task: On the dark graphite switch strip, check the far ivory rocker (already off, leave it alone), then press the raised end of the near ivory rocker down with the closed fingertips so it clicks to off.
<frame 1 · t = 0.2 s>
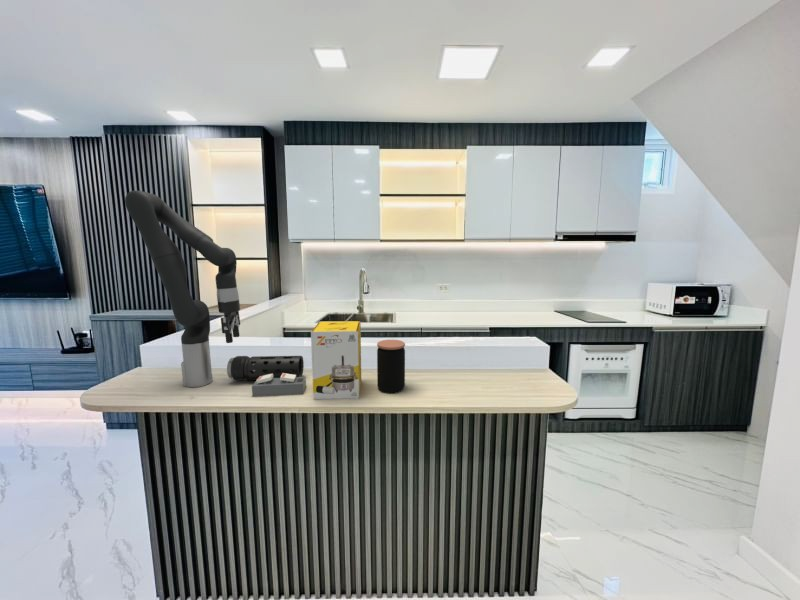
hand: (233, 339, 131), 18 cm above the table, tool pointing down, fingers open, 8 cm apart
packaging box: (339, 390, 127), on the table
rocker 2: (288, 377, 125), point 5 cm above the table, hinge at 12.0°
muzzle brake: (267, 380, 136), on the table
switch strip: (280, 391, 125), on the table
coffee jar: (391, 388, 128), on the table
rocker 1: (265, 378, 123), point 5 cm above the table, hinge at -12.0°
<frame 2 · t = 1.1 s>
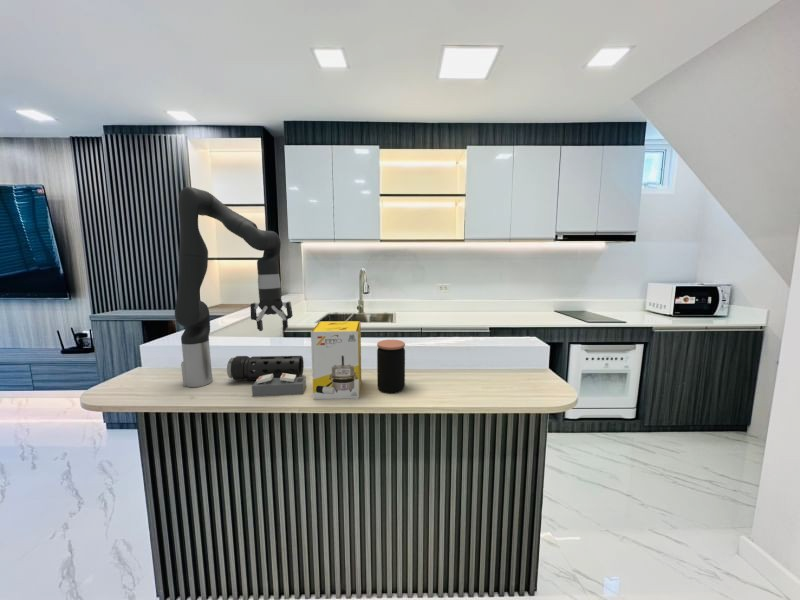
hand: (273, 330, 122), 24 cm above the table, tool pointing down, fingers open, 8 cm apart
nothing on the table moved.
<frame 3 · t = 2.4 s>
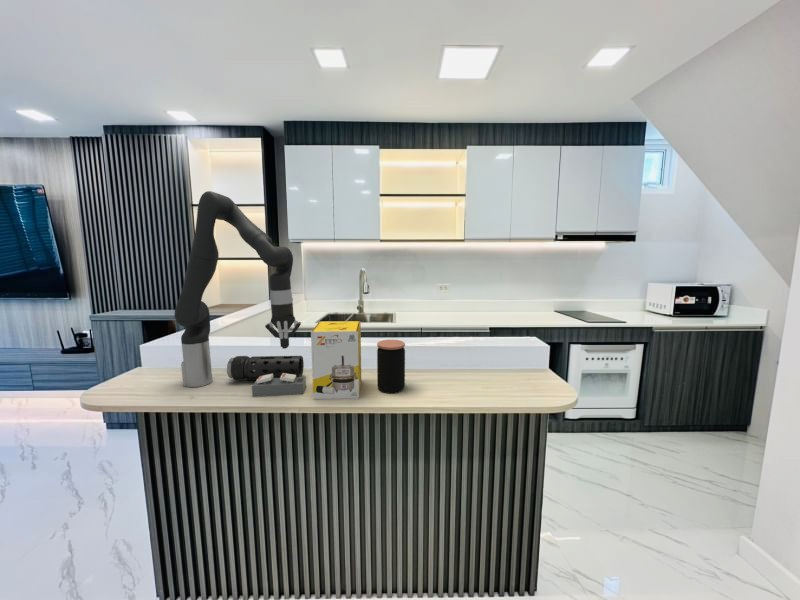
hand: (285, 347, 123), 17 cm above the table, tool pointing down, fingers closed
nothing on the table moved.
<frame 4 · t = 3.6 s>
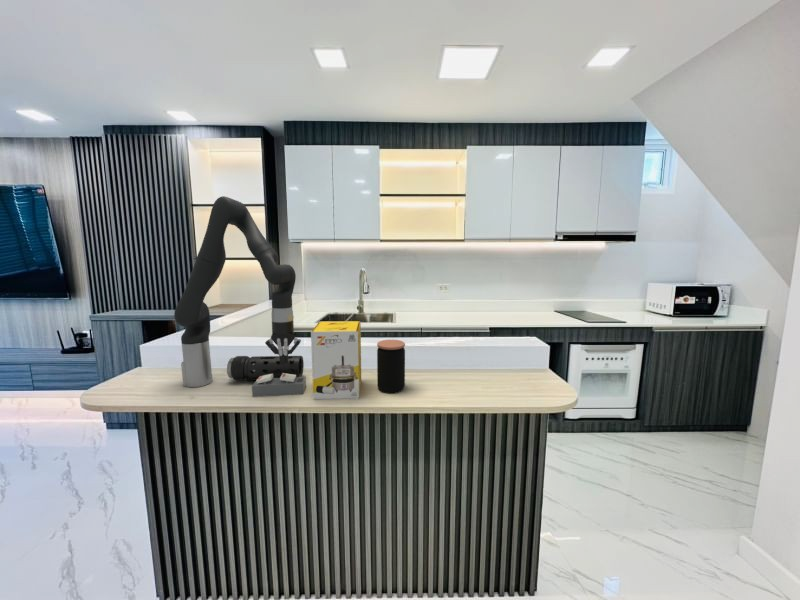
hand: (284, 364, 124), 10 cm above the table, tool pointing down, fingers closed
nothing on the table moved.
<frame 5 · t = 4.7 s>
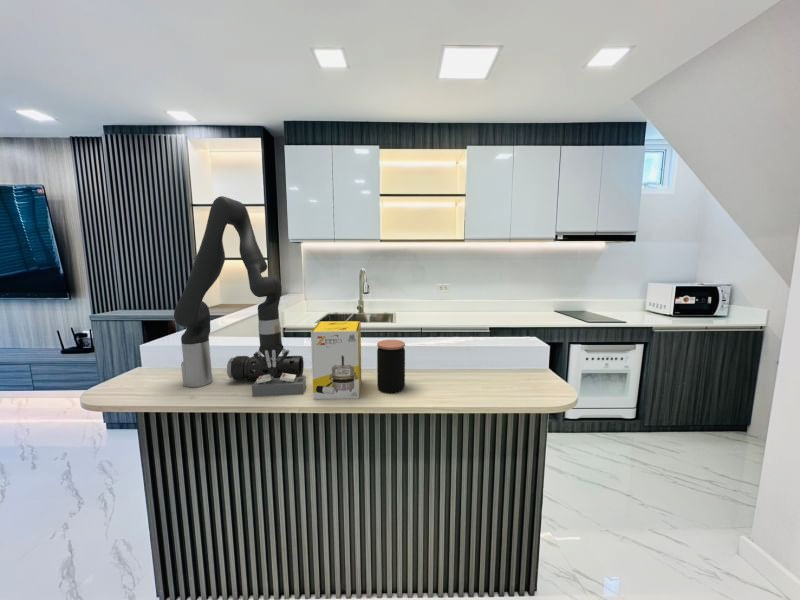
hand: (273, 375, 124), 6 cm above the table, tool pointing down, fingers closed
rocker 1: (265, 378, 123), point 5 cm above the table, hinge at -10.9°, touching gripper
everything else where it was.
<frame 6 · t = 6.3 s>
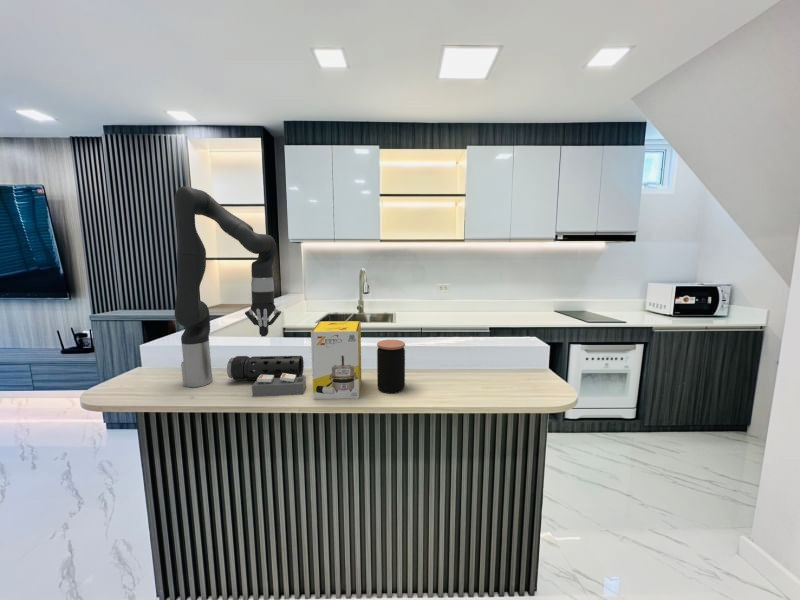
hand: (264, 335, 123), 21 cm above the table, tool pointing down, fingers closed
rocker 1: (265, 378, 124), point 5 cm above the table, hinge at 5.3°
everything else where it was.
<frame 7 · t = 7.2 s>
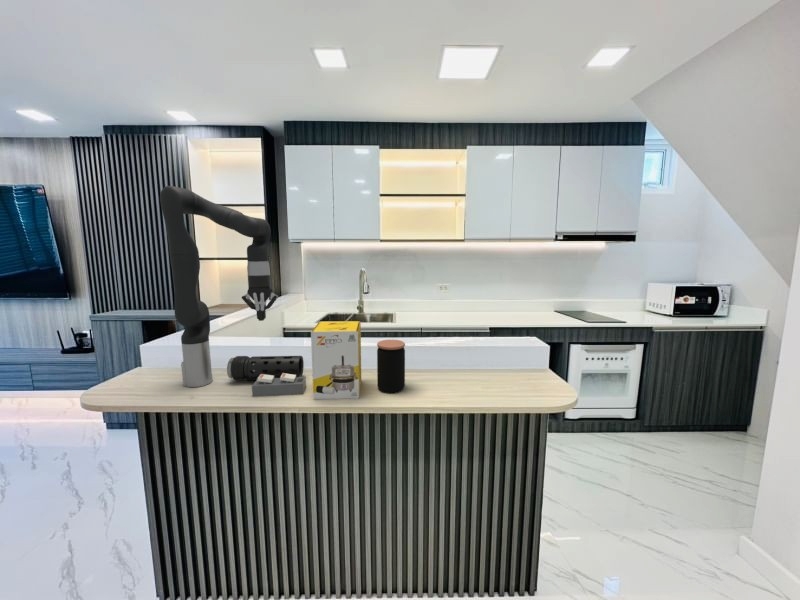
hand: (261, 320, 123), 27 cm above the table, tool pointing down, fingers closed
rocker 1: (266, 378, 124), point 5 cm above the table, hinge at 10.7°
everything else where it was.
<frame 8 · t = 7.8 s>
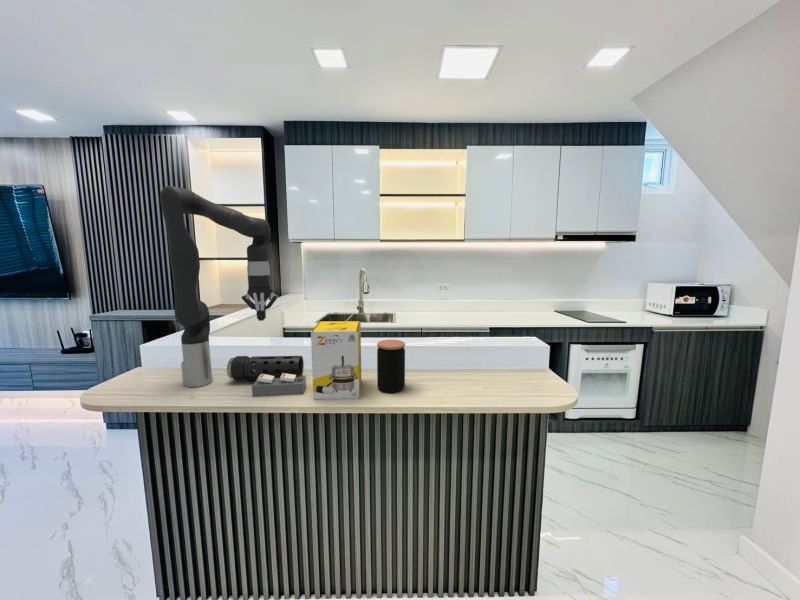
hand: (261, 320, 123), 27 cm above the table, tool pointing down, fingers closed
rocker 1: (266, 378, 124), point 5 cm above the table, hinge at 13.4°
everything else where it was.
at the end: rocker 1 at +14° (first picture: -12°); rocker 2 at +12° (first picture: +12°); muzzle brake moved 0.4 cm from its start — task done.
